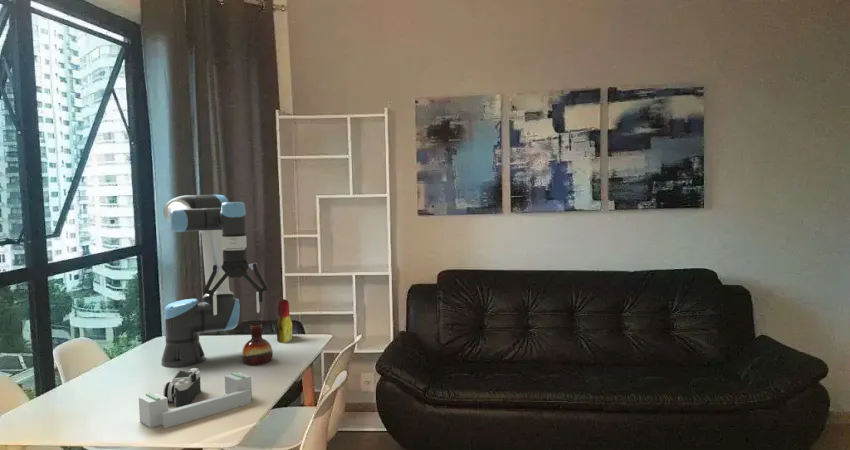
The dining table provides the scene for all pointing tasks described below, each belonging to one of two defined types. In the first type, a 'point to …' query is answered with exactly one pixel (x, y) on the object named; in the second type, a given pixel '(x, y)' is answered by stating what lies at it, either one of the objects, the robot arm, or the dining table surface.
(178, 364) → the robot arm
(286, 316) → the bottle
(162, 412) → the rail mount
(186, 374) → the camera
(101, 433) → the dining table surface
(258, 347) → the vase
